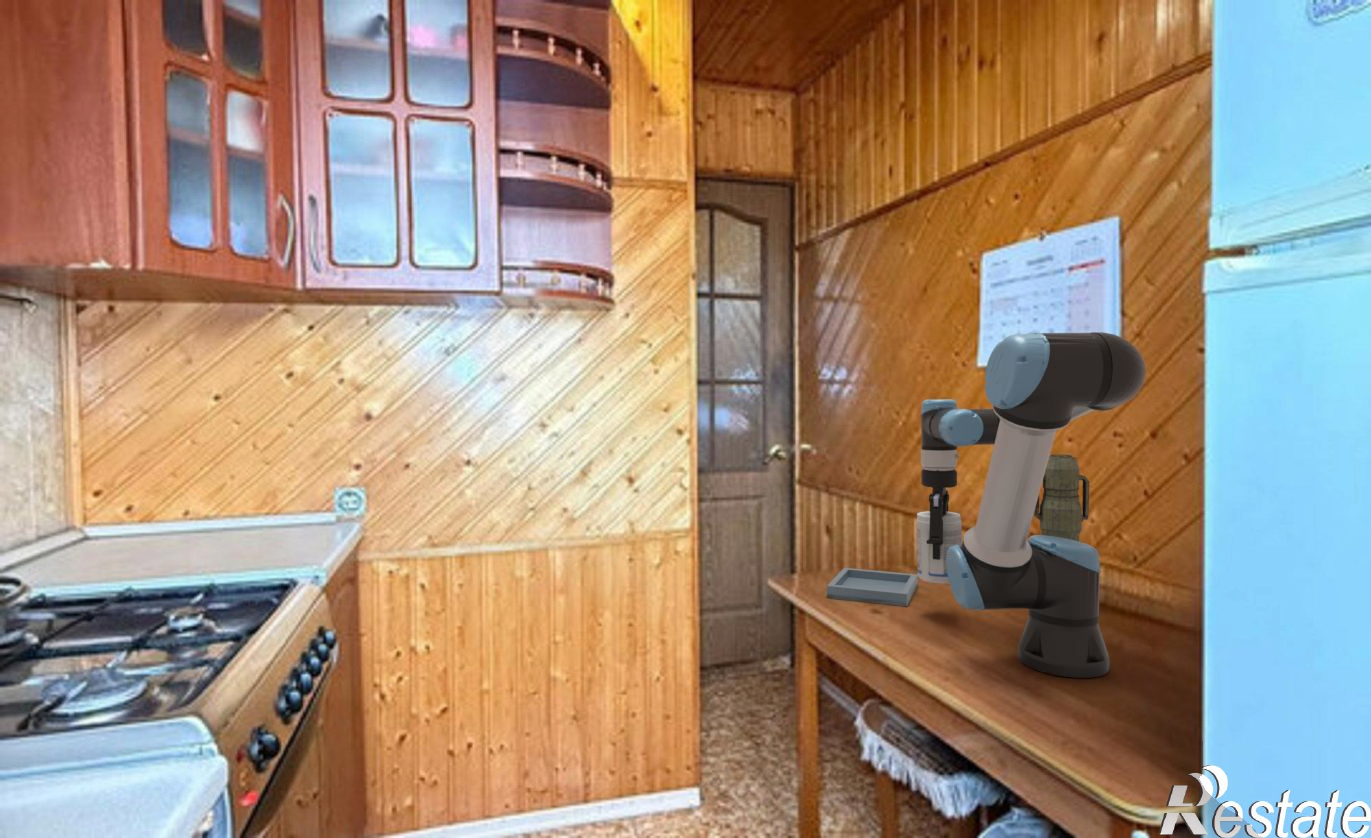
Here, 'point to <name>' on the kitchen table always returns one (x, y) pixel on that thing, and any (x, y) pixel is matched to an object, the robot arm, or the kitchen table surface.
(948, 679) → the kitchen table surface
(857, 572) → the tray
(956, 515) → the supplement tub
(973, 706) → the kitchen table surface
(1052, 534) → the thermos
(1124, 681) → the kitchen table surface
